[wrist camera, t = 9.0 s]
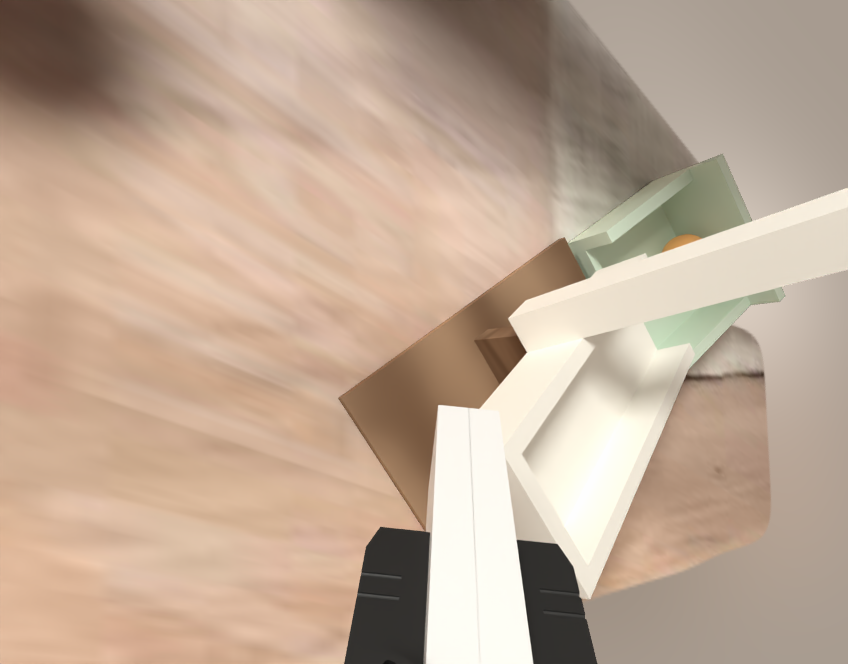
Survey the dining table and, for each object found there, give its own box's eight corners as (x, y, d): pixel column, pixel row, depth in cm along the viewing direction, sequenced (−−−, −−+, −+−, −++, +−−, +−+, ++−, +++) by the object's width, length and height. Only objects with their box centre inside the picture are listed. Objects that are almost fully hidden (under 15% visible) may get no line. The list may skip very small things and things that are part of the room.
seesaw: (522, 589, 22) (1383, 717, 9) (409, 408, 20) (1268, 234, 7) (644, 364, 34) (1086, 276, 21) (579, 238, 32) (1017, 55, 19)
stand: (451, 571, 30) (498, 605, 26) (338, 398, 28) (369, 403, 23) (636, 388, 37) (697, 391, 33) (558, 239, 35) (613, 221, 31)
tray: (636, 377, 37) (708, 378, 32) (567, 243, 35) (632, 223, 30) (711, 304, 41) (785, 295, 36) (652, 180, 39) (722, 153, 34)
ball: (680, 231, 35) (667, 225, 38) (659, 276, 36) (648, 267, 39) (727, 245, 35) (710, 239, 38) (704, 290, 36) (690, 280, 39)
